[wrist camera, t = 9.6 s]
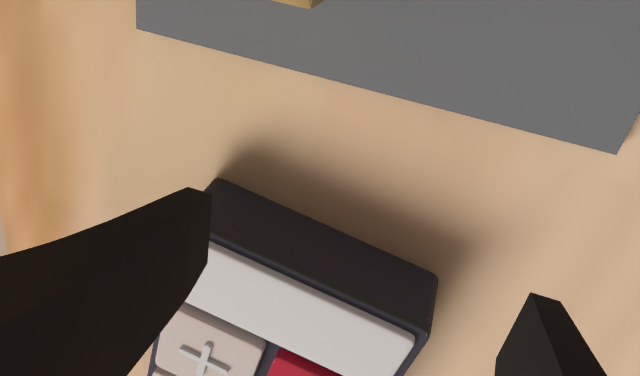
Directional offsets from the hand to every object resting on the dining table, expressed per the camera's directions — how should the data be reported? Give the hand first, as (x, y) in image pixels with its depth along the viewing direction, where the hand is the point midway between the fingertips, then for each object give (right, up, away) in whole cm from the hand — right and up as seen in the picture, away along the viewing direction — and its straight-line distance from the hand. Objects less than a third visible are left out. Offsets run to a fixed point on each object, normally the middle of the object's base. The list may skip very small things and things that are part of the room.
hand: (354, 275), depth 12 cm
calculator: (-3, -5, +16) cm, 17 cm away
